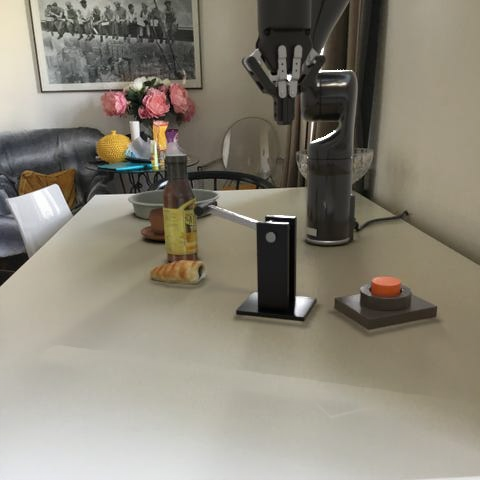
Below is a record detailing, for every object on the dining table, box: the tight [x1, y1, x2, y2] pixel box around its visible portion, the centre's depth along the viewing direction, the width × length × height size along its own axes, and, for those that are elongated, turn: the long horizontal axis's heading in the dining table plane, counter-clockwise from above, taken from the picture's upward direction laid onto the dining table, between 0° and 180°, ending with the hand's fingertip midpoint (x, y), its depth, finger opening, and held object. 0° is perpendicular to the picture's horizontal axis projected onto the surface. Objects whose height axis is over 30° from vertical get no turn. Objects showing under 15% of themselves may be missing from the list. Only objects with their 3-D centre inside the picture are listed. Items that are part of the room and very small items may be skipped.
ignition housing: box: [333, 282, 438, 331], centre depth 80 cm, size 11×9×4 cm
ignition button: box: [370, 276, 402, 296], centre depth 79 cm, size 4×4×2 cm
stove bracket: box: [235, 214, 318, 323], centre depth 81 cm, size 10×8×14 cm
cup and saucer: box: [140, 208, 165, 242], centre depth 126 cm, size 12×12×6 cm
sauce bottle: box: [162, 153, 199, 263], centre depth 107 cm, size 6×6×20 cm
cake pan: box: [127, 188, 221, 220], centre depth 153 cm, size 25×25×4 cm
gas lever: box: [194, 199, 290, 230], centre depth 80 cm, size 13×6×2 cm, turn 70°
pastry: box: [149, 260, 207, 286], centre depth 97 cm, size 9×7×4 cm
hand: (284, 124), depth 85 cm, fingers closed
